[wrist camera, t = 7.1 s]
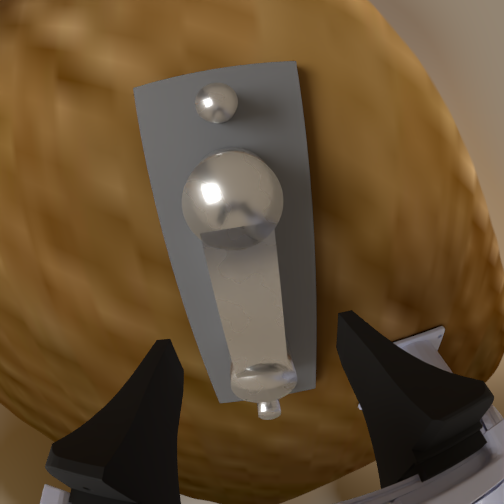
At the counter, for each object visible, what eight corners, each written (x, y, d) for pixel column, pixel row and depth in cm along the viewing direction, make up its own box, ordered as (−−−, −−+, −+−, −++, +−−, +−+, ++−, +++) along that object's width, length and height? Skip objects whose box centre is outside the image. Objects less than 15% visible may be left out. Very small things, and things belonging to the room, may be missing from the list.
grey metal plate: (312, 379, 22) (323, 416, 19) (219, 394, 22) (220, 432, 19) (291, 64, 12) (312, 46, 9) (139, 90, 12) (110, 80, 9)
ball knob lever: (289, 362, 20) (297, 396, 17) (235, 371, 20) (237, 406, 17) (266, 141, 13) (277, 146, 10) (184, 154, 13) (172, 163, 10)
